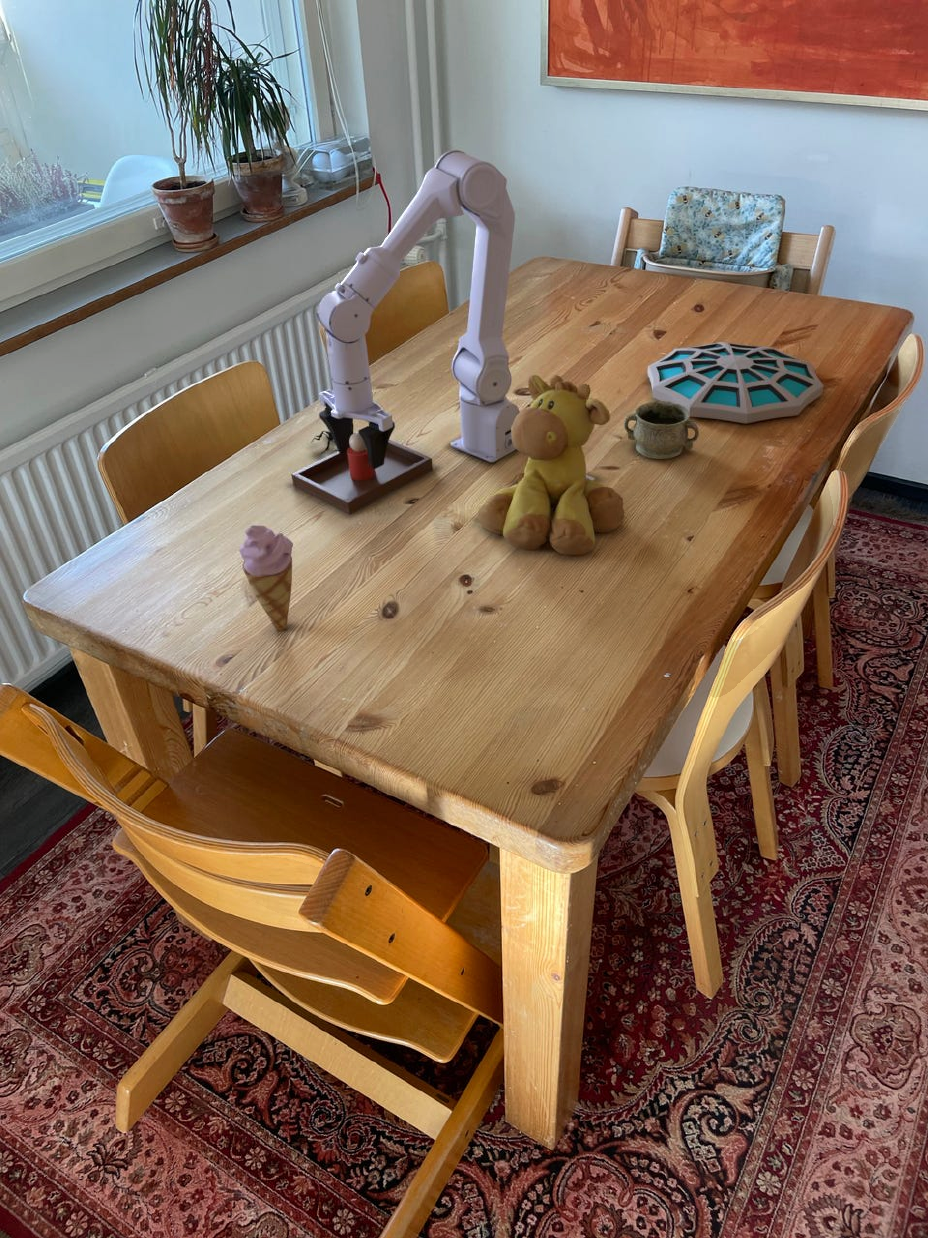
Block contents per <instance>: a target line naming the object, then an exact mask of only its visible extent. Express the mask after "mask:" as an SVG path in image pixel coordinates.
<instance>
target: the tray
mask: <svg viewBox="0 0 928 1238" xmlns="http://www.w3.org/2000/svg"><path fill="white" fill-rule="evenodd" d="M433 465H434V464H433V458H432V457H431V456H429V455H426V454H423V453H421V452H420V451H417V450H415V449H412V448H410V447H407V446H405V445H403V444H400V443H398V442H395V441H393V440H391V439H389V441H388V444H387V448H386V454H385V460H384V465H382V466H380V467H378V468H376V469H375V472H376V474H375V476H374V477H373V478H371V479H368V480H363V481H359V480H354V479H352V478H351V476H350V469H349V462H348V454H347V452H346V453H344V454H341V453H339V451H335V452H333V453H332V454H329V455H327V456H325V457H323V458H321V459H319V460H317V461H315V462H313V463H311V464H309V465H306V466H305V467H303V468H301V469H299V470H297V471H295V472H292V473H291V474H290V476H291V480H292V486H293V487H295V488H297V489H299V490H301V491H303V492H304V493H306V494H309V495H311V496H313V497H314V498H316V499H318V500H320V501H323V502H324V503H326V504H328V505H329V506H332V507H333V508H335V509H338V510H340V511H342V512H344V513H345V514H347V515H352V514H354V513H355V512H358V511H359V510H361V509H363V508H365V507H367V506H368V505H370V504H373V503H374V502H376V501H378V500H379V499H381V498H383V497H386V496H387V495H388V494H390V493H392V492H394V491H396V490H398V489H400V488H402V487H404V486H405V485H407V484H409V483H411V482H413V481H415V480H416V479H418V478H420V477H422V476H424V475H425V474H427V473H429V472H431V471H433V470H434V467H433Z"/></svg>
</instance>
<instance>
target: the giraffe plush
mask: <svg viewBox="0 0 928 1238" xmlns="http://www.w3.org/2000/svg"><path fill="white" fill-rule="evenodd" d="M527 382H528V383H527V385H528V392H529V396H530V397H531V399H532V400H533V402H532V403H531V405H530V406H529V407H528V408H526V409H523V410H522V411H521V412H520V411H519V412H520V413H519V414H518V415H517V417H516V418H515V420H514V423H513V425H512V428H511V436H512V442H513V445H514V447H515V448H516V450H517V451H518V452H520V453H522V455H524V456H526V457H528V458H527V463H526V465H525V467H524V469H523V471H522V472H518V474H517V475H516V477H517V482H518V483H515V484H514V485H512V486H507V487H504V488H501V489H498V490H497V491H496V492H494V493H493V494H492V495H490V496H489V497H487V498H486V499H484V501H482V503H481V504H480V506H479V507H478V508H477V520H478V523H480V525H481V526H482V527H483V528H485V530H487V531H489V532H492V533H494V534H496V535H503V537H504V540H505V541H506V542H507V543H509V544H510V545H512V546H514V547H515V548H517V549H520V550H521V549H523V550H537V549H540V548H541V547H542V546H543V545H544V544H545V543H546V542H547V541H548V540H549V544H550V546H551V547H552V549H553V550H554V551H556V552H557V553H558V554H561V555H565V556H583V555H585V554H587V553H589V552H590V551H591V550H592V549H593V548H594V546H595V543H596V536H595V533H610V532H614V531H615V530H617V529H618V528H619V527H620V525H621V524H622V522H623V521H624V519H625V518H624V517H625V513H626V512H625V509H624V501H623V499H624V498H623V497H622V495H620V494H619V493H617V491H615V489H614V488H612V487H609V486H605V485H603V484H601V483H599V482H598V481H596V478H595V477H593V476H591V475H589V474H587V464H586V458H585V453H584V450H583V446H584V445H585V444H586V443H587V442H588V441H589V438H590V436H591V435H592V433H593V431H594V429H595V426H597V425H598V426H604V425H606V424H608V423H609V422H610V420H611V414H610V410H609V409H608V408H607V406H606V404H605V403H603V402H602V401H601V400H599V399H597V398H594V397H590V394H591V387H590V385H589V384H587V383H582V384H579V385H578V387H577V385H575V384H574V383H573V382H571V381H566V380H563V378H562V377H561V376H560V375H558V374H556V375H554V376H553V377H551V379H550V381H549V384H548V383H547V382H546V381H545V380H543V379H542V378H541V377H540V376H539V375H537V374H532V375H530V376H529V378H528V381H527ZM551 509H553V510H555V511H554V515H553V518H552V513H551V511H552V510H551Z"/></svg>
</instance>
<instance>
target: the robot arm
mask: <svg viewBox="0 0 928 1238" xmlns="http://www.w3.org/2000/svg"><path fill="white" fill-rule="evenodd" d="M507 181H508V179H507V178H506V176H505V175H503V173H502V172H501V171H500V170H499V169H498V168H497V167H496V166H495V165H494V164H492V163H491V162H488V161H485V160H481V159H478V158H476V157H474V156H471V155H469V154H467V153H466V152H464V151H462V150H459V149H452V150H448V151H446V152H445V153H443V154H441V156H440V157H439V158H438V159H437V161H436V163H435V165H434V166H433V167H431V168H430V169H429V170H428V171H427V172H426V173H425V176H424V178H423V181H422V184H421V186H420V188H419V190H418V191H417V193H416V194H415V196H414V197H413V199H412V200H411V201H410V203H409V205H408V206H407V207H406V208H405V210H404V212H403V213H402V215H401V216H400V218H399V219H398V221H397V222H396V223H395V224H394V227H393V228H392V229H391V231H390V232H389V233H388V235H387V237H386V238H385V239H384V241H383V242H382V244H381V245H379V246H373V247H369V248H367V249H366V250H365V251H364V253H363V252H359V253H358V254H357V255H356V257H355V258H354V260H355V261H356V263H355V264H354V266H353V267H352V268H351V269H350V271H349V273H348V274H347V275H346V276H345V277H344V279H343V280H342V281H341V283H340V282H337V284H336V285H335V286H334V289H335V290H333V291H332V292H328V293H327V294H325V295H324V296H323V297H322V299H321V300H320V302H319V305H318V308H319V309H318V310H317V312H316V313H315V316H316V319H317V321H318V322H319V324H320V325H321V326H322V327H323V328H324V329H325V330H324V332H325V333H324V334H325V340H326V350H327V358H328V365H329V372H330V380H331V384H332V389H326V390H324V391H321V392H320V393H318V398H319V404H320V406H321V407H324V410H322V411H320V412H319V413H318V417H319V419H320V420H321V421H322V422H323V424H324V425H325V426H326V428H328V429H327V430H329V431H328V432H330V433H331V435H332V437H333V441H334V442H333V443H334V444H335V446H336V450H338V451H339V453H341V454H344V453H346V452H347V449H348V448H349V447H350V444H349V439H350V437H351V435H352V433H351V422H352V419H353V420H360V421H363V422H367V423H368V425H367V426H365V427H362V428H360V429H358V430H357V432H359V434H360V436H361V437H362V439H363V441H364V443H365V446H366V449H367V452H368V457H369V462H370V465H371V467H372V468H373V469H376V468H378V467H380V466H382V465H384V460H385V454H386V448H387V444H388V441H389V440H390V439H391V437H392V434H393V432H394V430H395V428H396V423H395V422H394V421H393V415H392V414H390V413H388V412H386V411H385V409H383V407H381V406H380V405H379V404H378V403H377V402H376V401H375V400H374V398H373V397H374V396H373V388H372V380H371V372H370V363H369V354H368V346H367V341H366V340H367V339H366V334H368V332H369V329H370V326H371V316H372V314H373V313H374V311H375V309H376V308H377V307H378V306H379V304H380V303H381V302H382V300H383V299H384V298H385V297H386V296H387V294H388V293H389V292H390V290H391V289H392V288H393V287H394V286H395V284H396V282H397V281H398V280H399V279H400V278H401V262H402V261H403V260H404V259H405V258H406V257H407V255H408V254H409V253H411V251H412V250H413V249H414V248H415V247H416V245H417V244H418V243H420V241H421V240H422V239H423V238H424V236H425V235H426V234H427V233H428V232H429V231H430V229H431V228H432V227H433V226H434V225H435V224H436V223H437V221H439V220H441V219H449V218H455V217H460V216H464V215H465V213H466V215H468V217H469V218H470V220H472V222H473V223H474V224H475V226H476V227H475V229H476V230H475V240H474V249H473V262H472V271H471V272H472V273H471V285H470V294H469V305H468V306H469V307H468V317H467V327H466V332H465V333H464V334H463V335H462V336H461V337H459V340H458V347H457V350H456V353H455V354H454V356H453V359H452V361H451V373H452V375H453V377H454V379H455V380H456V381H458V382H459V407H460V408H459V410H460V412H459V413H460V430H461V431H460V432H461V433H460V434H461V437H460V438H457V439H456V440H454V441H452V442H451V443H450V447H452V448H455V449H457V450H459V451H462V452H464V453H467V454H469V455H470V456H471V455H472V456H474V457H477V458H480V459H481V460H484V461H486V462H489V463H495V462H497V461H498V460H500V459H502V458H503V457H506V456H507V455H509V454H511V453H512V452H514V451H516V450H517V449H516V448H515V447H514V445H513V442H512V436H511V428H512V425H513V423H514V420H515V418H516V417H517V415H518V414H519V413H520V409H519V406H517V405H516V404H515V403H513V402H512V401H510V399H508V397H507V396H506V395H507V394H508V393H509V391H510V389H511V386H512V378H513V377H512V373H511V370H510V367H509V360H510V355H509V352H508V350H507V347H506V345H505V342H504V340H503V330H504V322H505V321H504V319H505V312H506V302H507V294H508V286H509V285H508V284H509V283H508V282H509V277H510V267H511V259H512V250H513V241H514V231H515V222H516V213H515V209H514V206H513V204H512V201H511V198H510V195H509V193H508V189H507V184H508V183H507ZM464 212H465V213H464Z"/></svg>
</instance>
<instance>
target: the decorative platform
mask: <svg viewBox="0 0 928 1238" xmlns="http://www.w3.org/2000/svg"><path fill="white" fill-rule="evenodd" d="M646 373H647V377H648V379H649V381H650V384H651V398H653V399H655V400H656V401H663V402H673V403H677V404H680V405H682V406H684V407H685V408H686V409H687V410H688V411H689V412H690V418H691V417H692V418H703V419H714V420H721V421H728V422H734V423H740V424H746V425H747V424H751V423H756V422H760V421H766V420H771V419H772V420H773V419H777V418H786V417H794V416H795V417H797V416H799V415H800V413H802V411H803V410H804V409H805V408H806V407H807V406H808V405H810V404H811V403H812V402H813V401H815V400H816V399H818V398H820V397H821V396H822V395H823V392H824V384H823V383H822V381H821V380H820V379H819V378H818V376H817V375H816V372H815V370H814V367H813V364H812V362H809V361H806V360H803V359H801V358H798V357H795V356H792V355H790V354H787V353H786V352H783V351H781V350H779V349H777V348H776V347H775V348H774V347H773V346H759V345H749V344H738V343H731V342H723V341H718V342H714V343H708V344H702V345H695V346H689V347H687V346H686V347H679V348H678V347H677V348H674V349H672V350H671V351H670V352H669V353H668V354H666V355H665V356H664V357H662V358H660V359H658V360H657V361H655V362H653V363H651V364H649V365H648V366H647V372H646Z"/></svg>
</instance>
